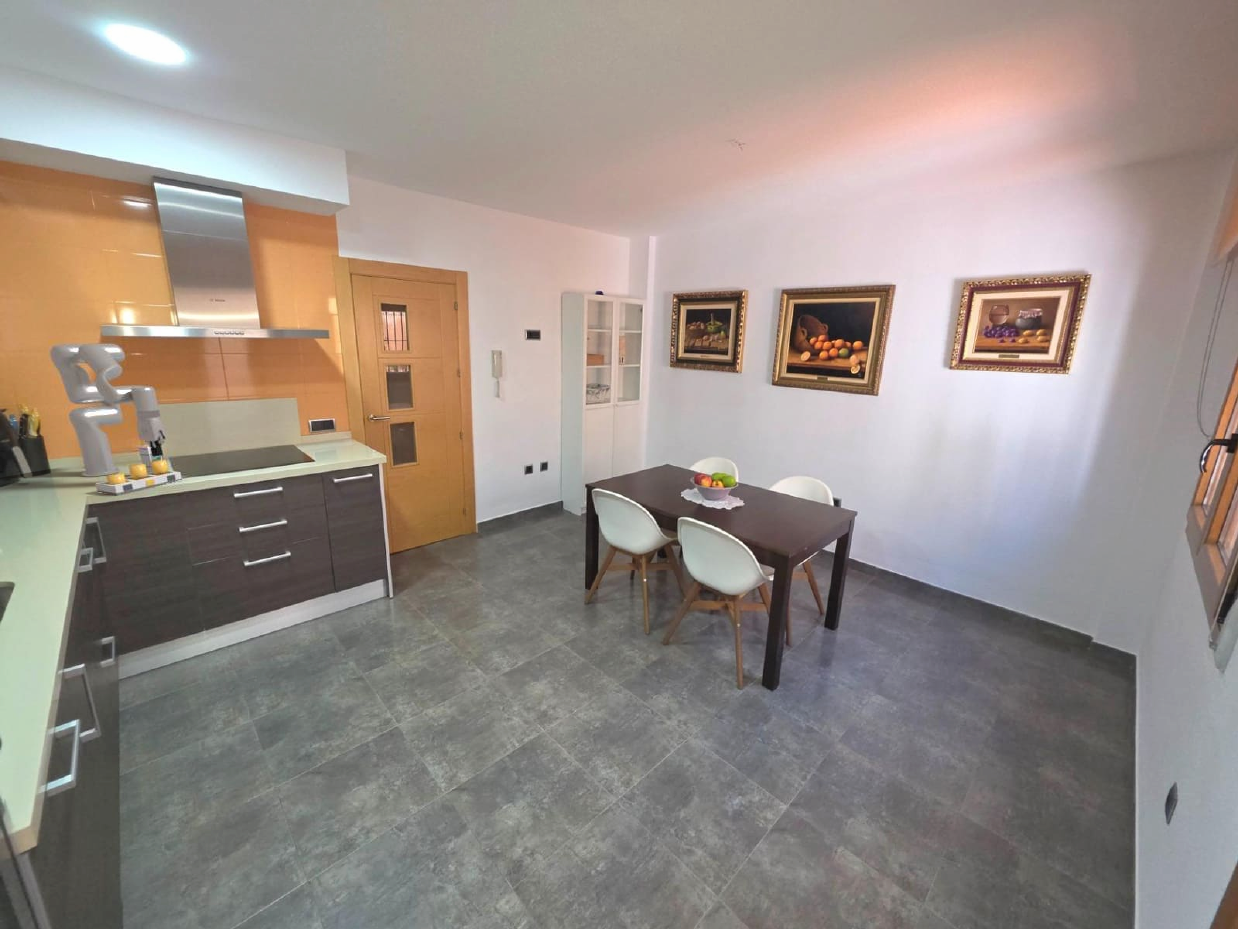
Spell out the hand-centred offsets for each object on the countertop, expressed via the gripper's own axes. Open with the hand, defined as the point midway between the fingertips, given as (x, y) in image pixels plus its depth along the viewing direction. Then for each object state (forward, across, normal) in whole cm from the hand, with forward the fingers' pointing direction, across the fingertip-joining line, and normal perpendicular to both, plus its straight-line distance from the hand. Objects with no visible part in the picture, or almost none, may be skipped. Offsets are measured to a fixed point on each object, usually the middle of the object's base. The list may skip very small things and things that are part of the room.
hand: (157, 455), depth 219 cm
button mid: (+9, -1, -8) cm, 12 cm away
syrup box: (+12, -15, +6) cm, 20 cm away
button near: (+11, -1, -16) cm, 19 cm away
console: (+12, -1, -8) cm, 15 cm away
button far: (+9, -1, 0) cm, 9 cm away
